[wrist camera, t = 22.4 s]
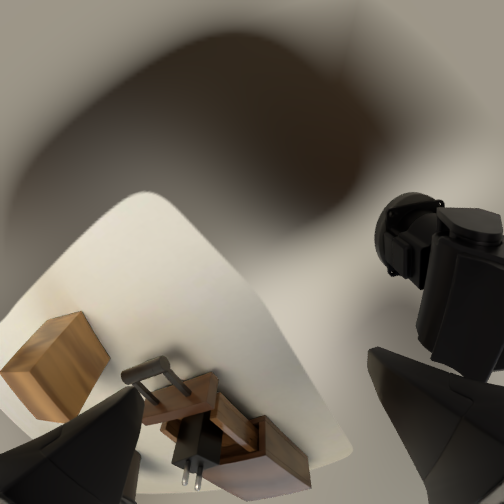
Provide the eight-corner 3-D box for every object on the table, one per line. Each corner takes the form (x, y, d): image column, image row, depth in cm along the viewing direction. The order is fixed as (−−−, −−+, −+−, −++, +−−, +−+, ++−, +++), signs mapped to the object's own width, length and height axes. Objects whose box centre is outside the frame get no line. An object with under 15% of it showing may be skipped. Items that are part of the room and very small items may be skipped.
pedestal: (81, 310, 24) (29, 371, 15) (110, 358, 26) (73, 424, 17) (47, 319, 25) (-2, 372, 16) (74, 362, 27) (36, 419, 18)
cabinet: (196, 433, 30) (189, 469, 25) (265, 414, 28) (265, 455, 23) (247, 471, 34) (246, 501, 28) (307, 456, 32) (311, 488, 27)
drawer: (117, 362, 25) (103, 387, 21) (181, 335, 24) (170, 364, 20) (209, 446, 30) (206, 470, 26) (269, 431, 28) (270, 457, 25)
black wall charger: (205, 405, 25) (192, 479, 17) (224, 417, 26) (217, 489, 18) (181, 418, 26) (165, 485, 18) (200, 429, 27) (189, 495, 19)
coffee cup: (159, 461, 34) (147, 513, 24) (129, 465, 35) (115, 510, 26) (119, 434, 32) (99, 488, 22) (92, 440, 33) (73, 486, 24)
